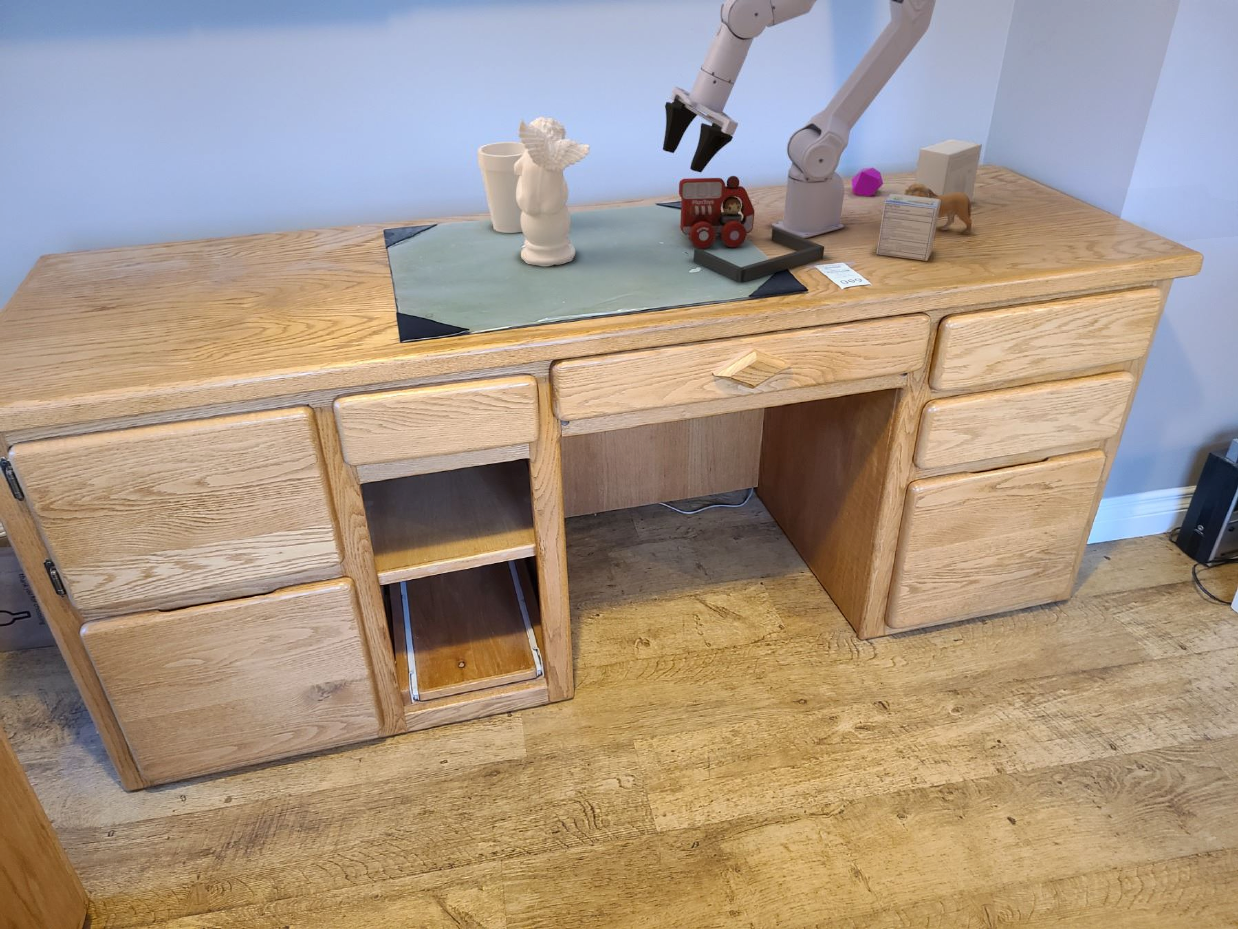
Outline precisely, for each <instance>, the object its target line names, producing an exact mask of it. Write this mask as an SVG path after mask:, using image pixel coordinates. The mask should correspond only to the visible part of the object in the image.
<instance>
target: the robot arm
mask: <svg viewBox="0 0 1238 929" xmlns="http://www.w3.org/2000/svg"><path fill="white" fill-rule="evenodd" d="M816 2H817V0H725V2H724V3H721V5H720V10H719V18H720V23H719V25H718V27H717V30H716V32H715V35H714V37H713V38H712V40H711V43H710V45H709V47H708V50H707V52H706V54H705V56H704V60H703V61H702V64H701V66H700V69H699V72H698V74H697V76H696V79H695V81H694V83H693V86H692V88H691V91H690V92H689V91H687V90H686V89H684V88H681V87H678V86H673V89H672V91H671V94H670V96H669V99H670V100H672V102H670V101H666V102H665V104H664V108H665V132H664V140H663V145H662V151H664V152H667V153H670V154H671V153H672V154H674V153H675V152H676V151H677V149H678V147H679V145H680V143H681V141H682V138H683V137H684V135H685V133H686V132H687V129H688V128H689V127H690V125H691V123H693V121H694V119H695V118H696V117H697V116H698V117H700V118H701V119H703V120H705V121H706V122H708V123H710V124H711V125H710V124H707V123H704V122H701V124H700V131H699V138H698V142H697V147H696V149H695V152H694V154H693V158H692V160H691V163H690V167H689V168H690V170H691V171H693V172H697V173H702V172H703V171H704V170H705V168H706V167H707V166H708V164H709V163H710V161H711V160H712V159H713V158H714V157H715V156H716V155H717V154H718V152H719V151H721V149H723V148H724V147H725V146H726V145H728V144H730V142H732V141H733V138H734V135H735V132H736V130H737V128H738V125H739V123H738V122H737V121H735V120H734V119H733V118H731V117H730V116H729V115H728V114H726V113H725V112H724V109H725V107H726V105H727V102H728V100H729V98H730V95H731V94H732V91H733V89H734V87H735V84H736V82H737V80H738V77H739V75H740V72H741V70H742V68H743V65H744V63H745V61H746V58H747V56H748V53H749V50H750V48H751V45H752V43H753V41H754V40H755V39H754V38H757V37H759V36H761V35H762V33H763V32H764V31H765V29H766V27H767V28H771V27H775V26H776V25H779V24H782V23H785V22H788V21H790V20H793V19H796V18H799V17H801V16H804V15H807V14H809V13H810V12H811V11H812V10H813V7H814V5H815V3H816ZM888 2H889V11H890V12H889V13H890V22H889V23H888V24H886V26H885V28H884V29H883V31H882V32H881V33H880V35H879V36H878V38H877V39H876V40H875V41H874V42H873V44H872V45H871V47H869V49H868V51H867V52H866V53H865V54H864V56H863V57H862V59H861V60H860V62H859V63H858V64H857V66H855V68H854V69H853V71H852V72H851V73H850V75H849V76H848V77H847V78H846V80H845V82H844V83H843V84H842V85H841V86H840V88H839V90H837V92H836V93H835V95H833V97H832V99H831V100H830V101H829V103H828V104H827V105H826V107H825V108H824V109H823V110H822V111H820V112H818V113H817V114H815V115H813V116H812V117H811V118H810V119H809V121H808V122H807V123H806V124H805V125H803V126H802V127H800V128H798V129H797V130H795V131H794V132H793V133H792V135H791V136H790V137H789V139H788V141H787V144H786V154H787V156H788V159H789V160H790V161H791V165H790V168H789V169H788V172H787V174H788V175H787V182H786V191H785V192H786V193H785V202H784V212H783V213H784V214H783V220H780V221H775V222H772V224H771V227H773V228H778V229H780V230H783V231H785V232H788V233H791V234H793V235H796V236H798V237H801V238H804V239H807V238H811V237H814V236H818V235H822V234H826V233H830V232H833V231H837V230H840V229H843V228H844V224H843V223H841V220H842V211H843V205H844V204H843V203H844V196H845V184H844V180H843V178H842V176H841V175H840V174H839V173H837V172H836V170H837V169H838V167H839V164H840V160H841V157H842V154H843V153H844V151H845V150H846V148H847V147H848V145H849V140H850V133H851V130H852V128H853V127H854V126H855V125H856V124H857V122H858V121H859V120H860V118H861V117H862V116H863V114H864V113H865V112H866V111H867V109H868V108H869V107H870V105H871V104H872V103H873V101H874V100H876V98H877V96H878V95H879V94H880V92H881V91H882V90H883V89H884V87H885V86H886V84H887V83H888V82H889V81H890V80H891V78H892V77H893V75H894V74H895V73H896V72H897V70H898V69H899V67H901V65H902V64H903V62H904V61H906V59H907V57H908V56H909V55H910V53H912V51H913V50H914V49H915V47H916V46H917V44H918V43H919V42H920V40H921V39H922V38H923V36H924V35H925V34H926V32H927V31H928V29H929V27H930V24H931V21H932V17H933V14H934V9H935V6H936V2H937V0H888Z"/></svg>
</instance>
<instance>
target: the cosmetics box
mask: <svg viewBox="0 0 1238 929" xmlns="http://www.w3.org/2000/svg"><path fill="white" fill-rule="evenodd" d="M982 146H983V144H982V143H980V142H973V141H967V140H961V139H954V138H950V139H948V140H944V141H941V142H937V143H935V144H931V145H928V146H926V147H922V148H919V152H918V161H917V167H916V174H915V179H914V184H919V183H920V184H923V185H925V187H926V188H928V189H930V190H931V191H932V192H933V193H934V194H936V195H937V196H941V195H946V194H949V193H953V192H960V193H964V194H965V195H967V196H968V198H969V199H970V203H971V204H972V200H973V196H974V189H975V183H976V178H977V171H978V168H979V162H980V157H981V152H982Z"/></svg>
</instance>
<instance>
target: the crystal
mask: <svg viewBox="0 0 1238 929" xmlns="http://www.w3.org/2000/svg"><path fill="white" fill-rule="evenodd" d="M850 181H851V188H852V192H853V194H854V195H856V196H863V197H864V196H865V197H871V196H873V195H874V193H876V192H877V191H878V190H879V189H881V187H882V186H883V185H884V181H883V177H882V173H881V172H880V171H879V170H878V169H876V168H874V167H865V168H862V169H860V170H859V171H858V173H857V174H856V175H854V177H853V178H851V180H850Z"/></svg>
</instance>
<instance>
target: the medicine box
mask: <svg viewBox="0 0 1238 929" xmlns="http://www.w3.org/2000/svg"><path fill="white" fill-rule="evenodd" d="M940 203H941V200H940V199H934V198H926V197H918V196H909V195H904V194H899V193H890V194H889V195H888V197H887V198H886V199H885V200H884V203H883V209H882V215H881V216H882V217H881V222H880V228H879V236H878V242H877V248H876V255H879V256H880V255H881V256H887V257H896V258H901V259H902V258H903V259H910V260H917V261H925V262H928V260H929V258H930V256H931V254H932V251H933V246H934V240H935V234H936V231H937V230H936V229H937V223H938V219H939V218H938V214H939V208H940Z"/></svg>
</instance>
